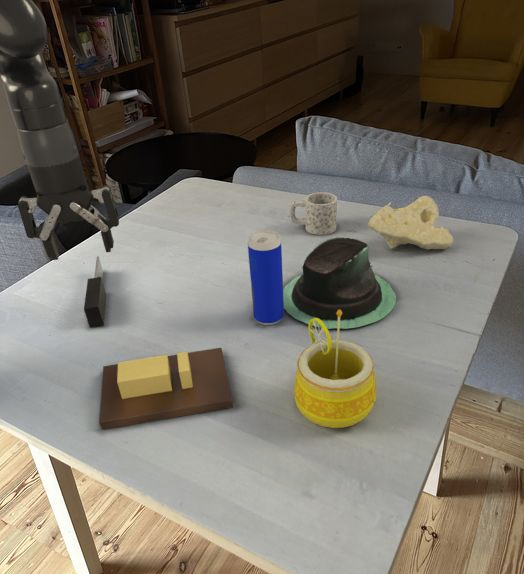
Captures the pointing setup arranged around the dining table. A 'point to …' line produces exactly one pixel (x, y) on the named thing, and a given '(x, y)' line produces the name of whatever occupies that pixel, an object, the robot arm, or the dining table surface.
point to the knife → (95, 298)
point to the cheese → (412, 225)
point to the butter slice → (184, 370)
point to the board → (169, 393)
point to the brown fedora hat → (339, 287)
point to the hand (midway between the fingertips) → (82, 254)
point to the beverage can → (266, 276)
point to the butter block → (144, 376)
